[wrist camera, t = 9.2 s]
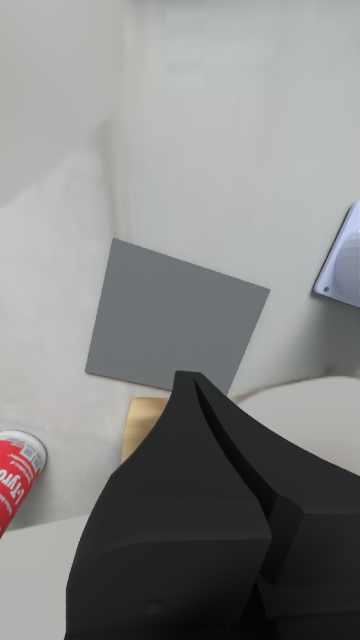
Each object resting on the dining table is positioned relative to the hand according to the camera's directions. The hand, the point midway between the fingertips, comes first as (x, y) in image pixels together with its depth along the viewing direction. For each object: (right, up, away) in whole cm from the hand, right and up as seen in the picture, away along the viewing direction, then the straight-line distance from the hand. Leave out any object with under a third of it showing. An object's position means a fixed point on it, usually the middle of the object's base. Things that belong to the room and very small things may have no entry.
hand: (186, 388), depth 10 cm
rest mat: (-1, +3, +8) cm, 8 cm away
